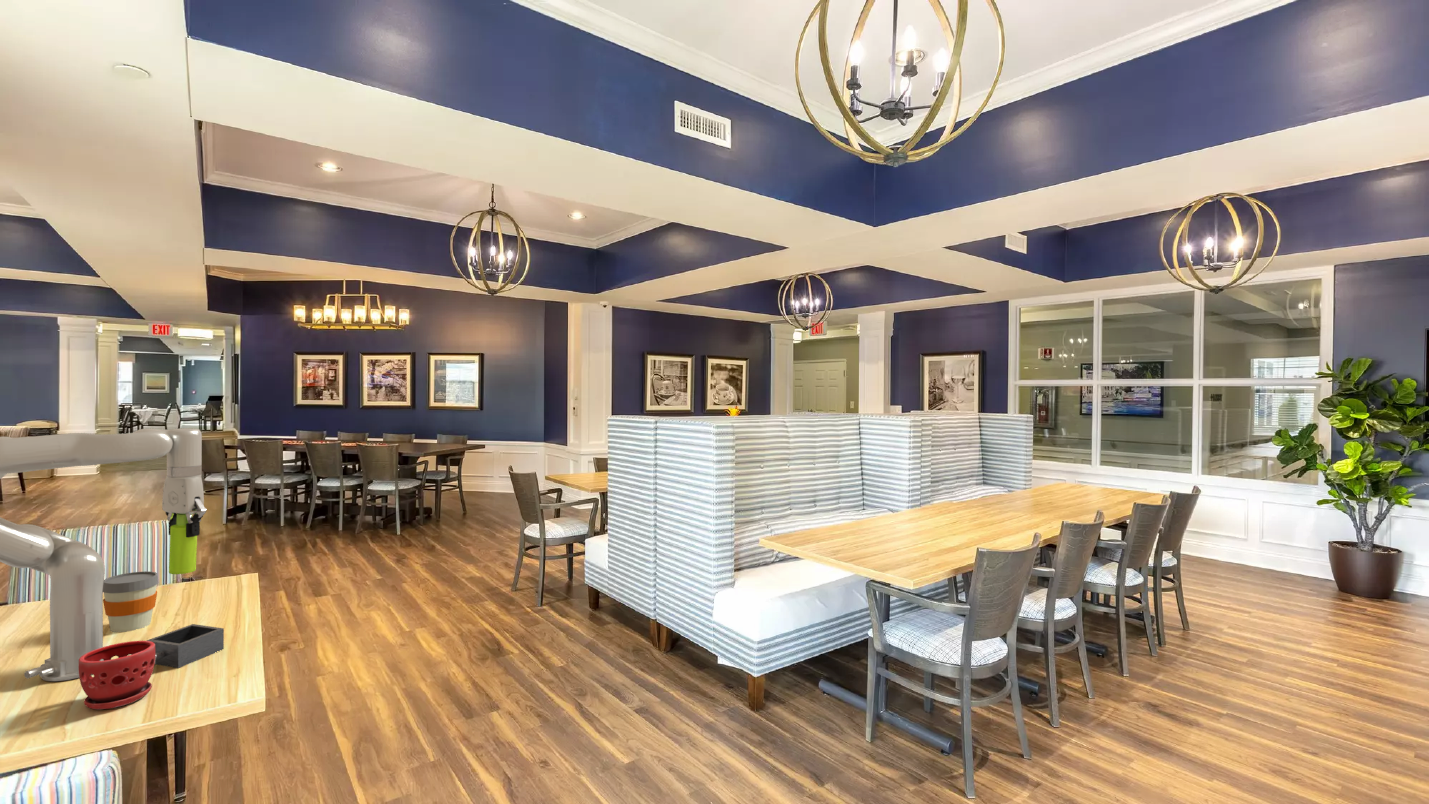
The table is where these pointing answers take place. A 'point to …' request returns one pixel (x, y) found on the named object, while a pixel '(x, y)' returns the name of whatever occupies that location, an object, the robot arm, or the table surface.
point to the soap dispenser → (182, 548)
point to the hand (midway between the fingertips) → (184, 534)
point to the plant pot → (117, 674)
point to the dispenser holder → (187, 645)
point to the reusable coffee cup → (130, 600)
